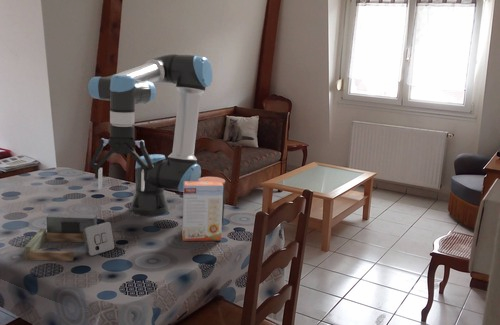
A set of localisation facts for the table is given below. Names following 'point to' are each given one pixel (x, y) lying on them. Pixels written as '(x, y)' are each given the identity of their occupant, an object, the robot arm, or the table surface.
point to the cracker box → (202, 211)
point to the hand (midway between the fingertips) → (121, 189)
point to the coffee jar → (215, 179)
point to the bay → (36, 254)
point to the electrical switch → (98, 238)
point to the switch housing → (69, 222)
